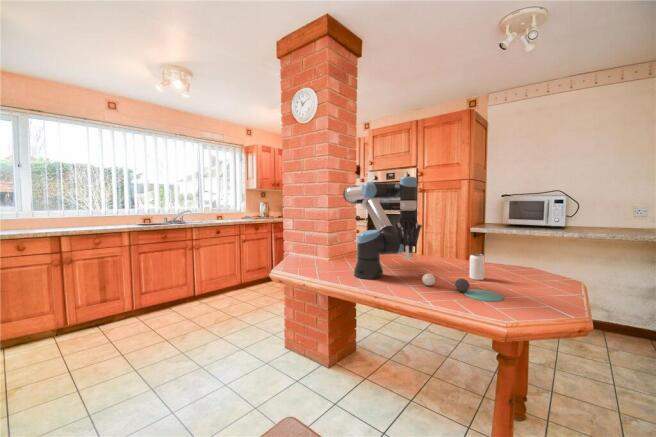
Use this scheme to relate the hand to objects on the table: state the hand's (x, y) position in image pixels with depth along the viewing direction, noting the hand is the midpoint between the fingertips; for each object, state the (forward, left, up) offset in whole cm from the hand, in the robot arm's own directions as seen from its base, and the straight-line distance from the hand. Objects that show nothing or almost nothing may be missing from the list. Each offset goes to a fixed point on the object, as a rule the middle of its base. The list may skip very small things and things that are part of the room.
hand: (408, 259), depth 130 cm
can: (-3, +35, -11) cm, 37 cm away
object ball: (+16, +18, -8) cm, 25 cm away
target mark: (+21, +24, -11) cm, 34 cm away
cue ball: (+6, +7, -8) cm, 13 cm away
